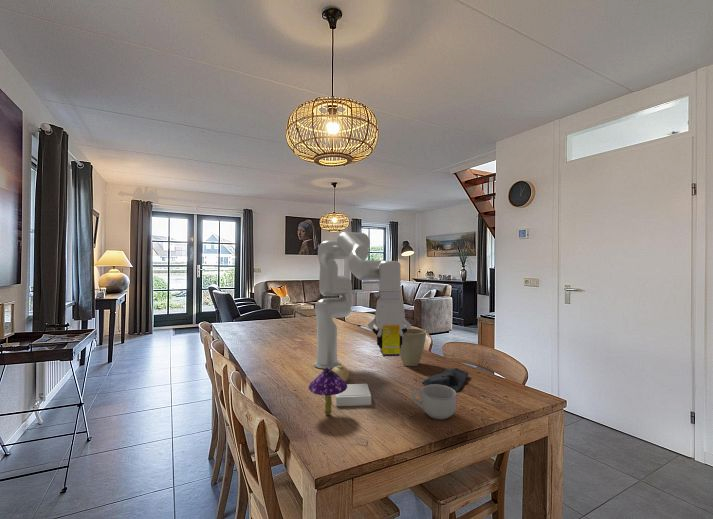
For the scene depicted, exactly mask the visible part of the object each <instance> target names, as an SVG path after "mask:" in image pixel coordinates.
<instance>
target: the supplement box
mask: <svg viewBox="0 0 713 519" xmlns="http://www.w3.org/2000/svg"><path fill="white" fill-rule="evenodd" d="M381 337H382V348H379V352H380V353H381V355H382V357H385V358H387V357H400V325H383V329H382V333H381Z"/></svg>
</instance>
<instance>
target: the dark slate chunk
mask: <svg viewBox="0 0 713 519" xmlns="http://www.w3.org/2000/svg"><path fill="white" fill-rule="evenodd" d="M468 376H469V372H468V371H466V370H462V369H460V368H457V367H454V368H453V367H452V368H448V369H443V370H442V369H441V370H440V371H439V372H438V373H436V374H434V375H431V376H429V377H427V378H426V379H424V380H423V381H422V382H421V385H423V387H424V386H426V385H431V384H439V385H445V386H448V387H450V388H452V389H454V390H455V391H456V393H457V392H459V391H460V390H461V389H462V387H463V386H464V384H465V381H466V380H467V378H468Z"/></svg>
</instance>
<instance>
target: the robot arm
mask: <svg viewBox="0 0 713 519" xmlns="http://www.w3.org/2000/svg"><path fill="white" fill-rule="evenodd" d="M370 245H371V240H370V238H369V236H368V235H367V234H366V233H364V232H358V231H357V232H355V231H343V232H341V233H339V234H338V235H337V238H336V240H330V239H329V240H324V241H322V242H321V243H320V244H319V245H318V248H317V257H318V262H319V284H318V289H319V293H320V294H321V296H324V297H327V298H321V299H319V300H317V301H316V303H315V305H314V312H315V316H316V360H315V361H314V362H313V366H314V367H316V368H317V369H324V370H325V369H326V368H328V367H329V368H331V369H333V368H334V367H336V366H339V365H341V361H340V360H338V327H337V324H336V323H335V322H334V320H333V319H336V318H345V317H348V316H349V315H350V314H351V310H352V295H353V284H352V281H351V278H350V277H348V276H347V275H339V272H338V271H339V266H338V263H337V262H336V260H347V262H348V263H347V265H348V269H349V272H351V274H352V275H353V276H355V278H356V279H357V280H360V281H362V282H368V281H369V282H371V281H378V292H375V293H374V296H375V297H376V298H378V299H377V300H376V305H375V315H374V318H373V319H372V320H371V321H370V322H369V323H368V324H367V328H369V329H370V330H371V331H372V333H374V334H375V335H376V345H377V346H378V347H379V349H380V348H382V337H381V333H382V329H383V325H400V348H401V345H402V336H403V335H404V334H405V333H406V332H407V330H408V329H409V328H412V324H411V323H410V321H409V320H407V319H406V315H405V313H406V312H405V305H404V304H405V303H404V301H403V299H401V292H402V291H401V282H402V281H401V278H402V277H401V274H402V273H401V272H402V271H401V263H400V262H399V261H397V260H385V259H384V260H382V259H381V260H378V259H374V260H373V259H367V258H368V256H369V253H370V252H369V251H370V250H369V249H370ZM366 259H367V260H366ZM335 296H336V297H335ZM337 296H339V297H337ZM329 297H331V298H329ZM374 325H375V327H376V328H377V329H376V328H375V327H374Z"/></svg>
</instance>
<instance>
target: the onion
mask: <svg viewBox="0 0 713 519" xmlns="http://www.w3.org/2000/svg"><path fill="white" fill-rule="evenodd" d="M331 369H332V370H333V371H334V372H335V373H336V374H338V375H339V376H340V377H341V378H342V380H344V381H345V382H346V383H347V381H348V380H349V378H350V373H349V370H348V369H347V367H345V366H344V365H342V364H340V365H339V366H336V367H334V368H331Z"/></svg>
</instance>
